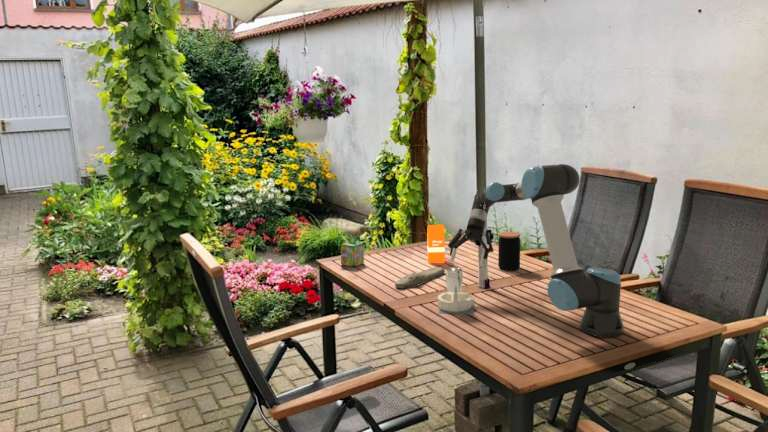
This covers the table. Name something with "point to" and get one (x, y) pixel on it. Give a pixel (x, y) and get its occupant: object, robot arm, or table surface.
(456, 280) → the beer glass
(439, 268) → the elongated rock
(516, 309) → the table surface
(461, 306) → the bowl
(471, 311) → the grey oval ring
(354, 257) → the green glass canister
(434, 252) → the orange juice
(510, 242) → the coffee jar
